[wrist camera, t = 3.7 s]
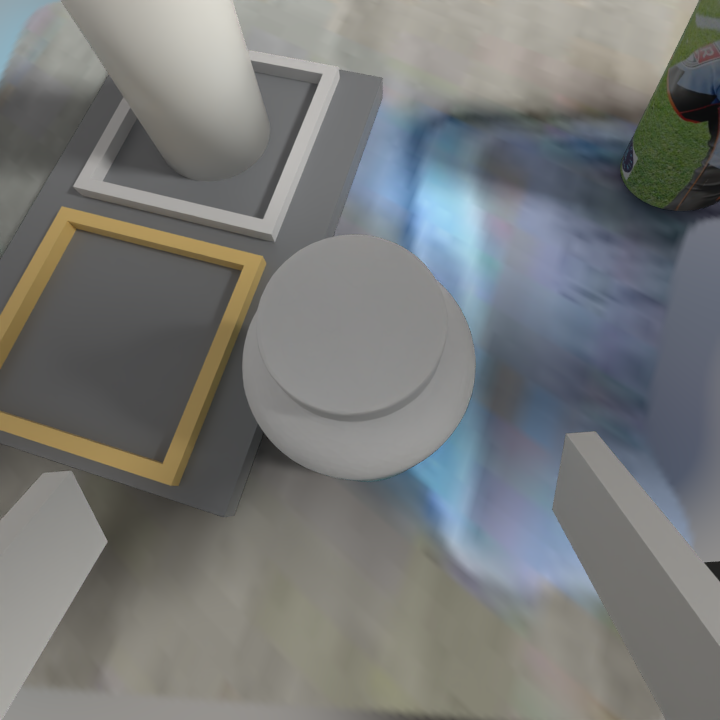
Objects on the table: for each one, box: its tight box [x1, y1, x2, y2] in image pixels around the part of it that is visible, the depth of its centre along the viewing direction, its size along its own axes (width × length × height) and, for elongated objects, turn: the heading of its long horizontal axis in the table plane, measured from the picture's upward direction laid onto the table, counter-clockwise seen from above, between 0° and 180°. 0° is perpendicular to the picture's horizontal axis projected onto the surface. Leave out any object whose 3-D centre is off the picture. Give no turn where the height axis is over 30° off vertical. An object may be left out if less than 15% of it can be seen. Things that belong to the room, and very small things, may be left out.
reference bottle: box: [61, 0, 270, 181], centre depth 20 cm, size 7×7×14 cm
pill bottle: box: [242, 234, 476, 482], centre depth 17 cm, size 8×7×14 cm
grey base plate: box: [0, 50, 383, 517], centre depth 26 cm, size 18×28×2 cm, turn 164°
